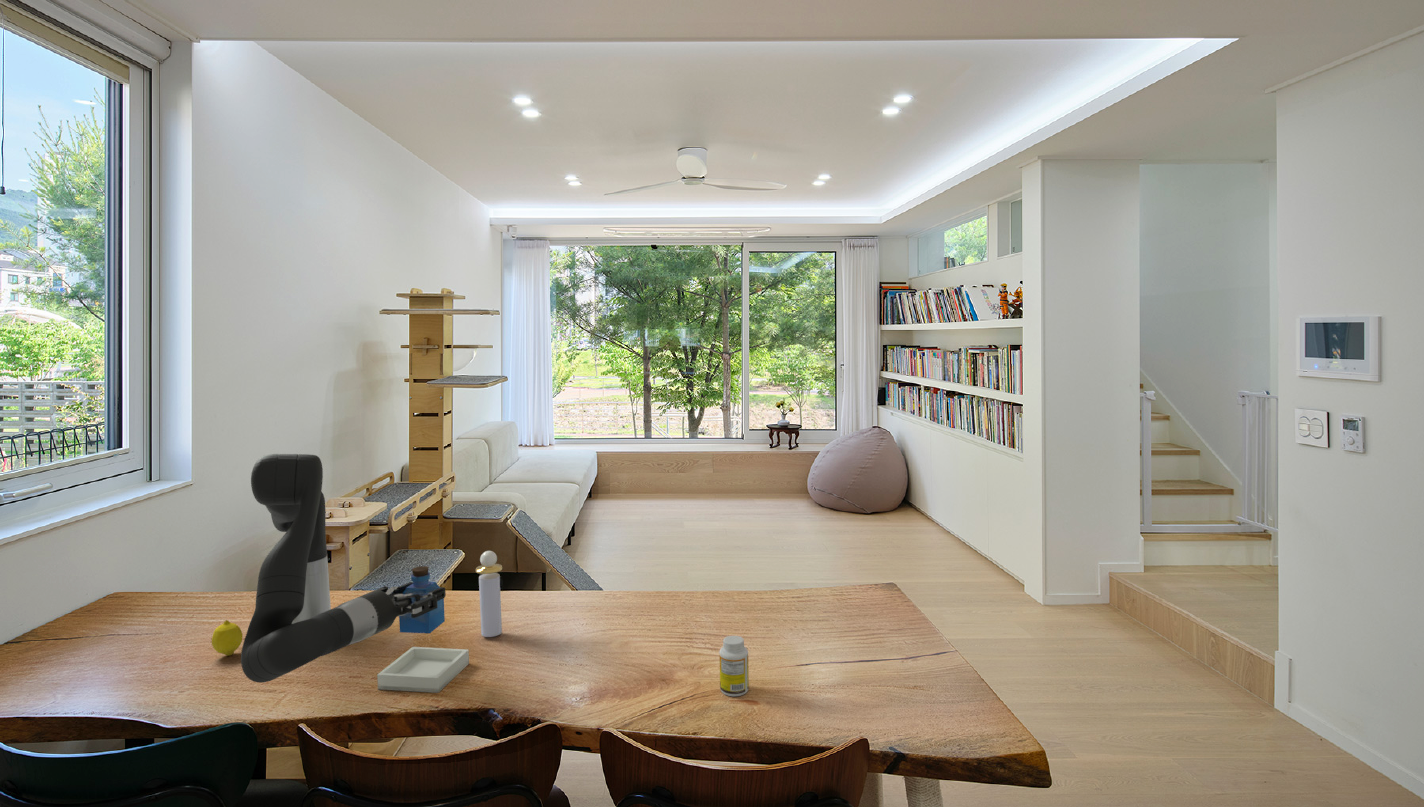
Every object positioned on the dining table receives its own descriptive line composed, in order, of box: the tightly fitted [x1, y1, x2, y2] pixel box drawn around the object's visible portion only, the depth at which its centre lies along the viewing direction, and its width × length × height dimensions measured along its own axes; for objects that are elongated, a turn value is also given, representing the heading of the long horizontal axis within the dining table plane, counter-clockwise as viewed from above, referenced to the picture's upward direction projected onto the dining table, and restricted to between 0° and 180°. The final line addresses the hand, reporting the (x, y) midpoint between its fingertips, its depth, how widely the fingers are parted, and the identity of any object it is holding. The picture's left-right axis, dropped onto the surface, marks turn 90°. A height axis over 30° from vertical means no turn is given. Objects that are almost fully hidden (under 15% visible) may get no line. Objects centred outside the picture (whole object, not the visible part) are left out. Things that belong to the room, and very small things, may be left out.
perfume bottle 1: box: [398, 565, 446, 635], centre depth 143 cm, size 6×6×12 cm
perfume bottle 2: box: [475, 550, 504, 638], centre depth 163 cm, size 6×6×20 cm
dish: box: [376, 646, 470, 694], centre depth 145 cm, size 13×13×3 cm
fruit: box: [211, 619, 243, 656], centre depth 155 cm, size 6×6×8 cm
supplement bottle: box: [718, 635, 750, 698], centre depth 137 cm, size 6×6×10 cm
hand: (428, 589), depth 145 cm, fingers closed on perfume bottle 1, 7 cm apart
